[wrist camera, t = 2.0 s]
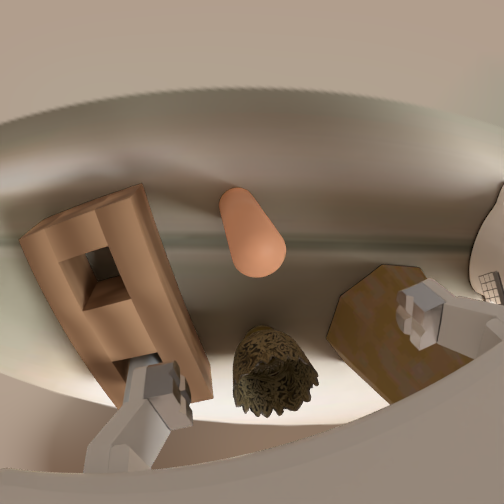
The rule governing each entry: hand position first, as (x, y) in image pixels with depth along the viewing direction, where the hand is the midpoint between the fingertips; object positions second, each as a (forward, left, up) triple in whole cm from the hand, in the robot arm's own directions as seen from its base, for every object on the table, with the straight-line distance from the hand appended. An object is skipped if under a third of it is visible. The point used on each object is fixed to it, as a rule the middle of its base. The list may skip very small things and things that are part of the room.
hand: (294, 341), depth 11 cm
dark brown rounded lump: (+1, +14, -18) cm, 23 cm away
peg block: (+12, +6, -18) cm, 22 cm away
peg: (0, 0, -18) cm, 18 cm away
